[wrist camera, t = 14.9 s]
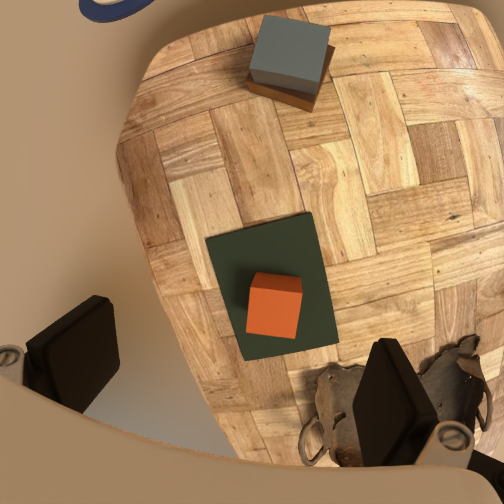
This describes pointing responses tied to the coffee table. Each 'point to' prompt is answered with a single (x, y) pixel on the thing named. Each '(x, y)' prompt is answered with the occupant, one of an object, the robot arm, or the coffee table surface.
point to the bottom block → (289, 95)
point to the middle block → (289, 54)
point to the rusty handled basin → (434, 382)
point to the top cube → (274, 305)
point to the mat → (281, 263)
